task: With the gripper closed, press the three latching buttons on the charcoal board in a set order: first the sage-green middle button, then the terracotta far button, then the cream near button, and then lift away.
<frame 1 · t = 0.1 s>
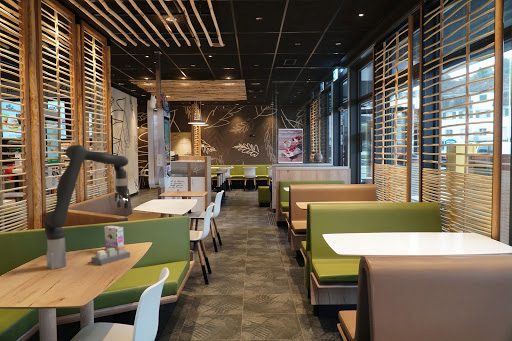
hand: (122, 208, 247), 29 cm above the table, tool pointing down, fingers open, 8 cm apart
cream button: (101, 253, 219), point 6 cm above the table, slide at 0.0 cm
button board: (111, 259, 224), on the table
sage button: (110, 250, 224), point 6 cm above the table, slide at 0.0 cm
terracotta button: (120, 248, 229), point 6 cm above the table, slide at 0.0 cm
candy box: (114, 250, 247), on the table
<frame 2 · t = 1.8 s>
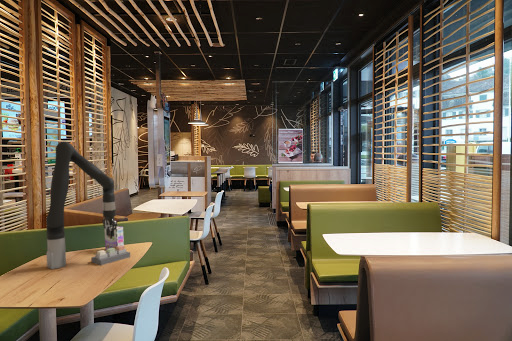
hand: (110, 235, 223), 15 cm above the table, tool pointing down, fingers open, 4 cm apart
nothing on the table moved.
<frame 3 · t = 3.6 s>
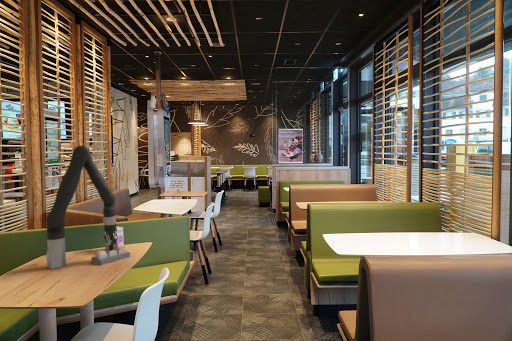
hand: (111, 250, 224), 6 cm above the table, tool pointing down, fingers closed
sage button: (111, 252, 224), point 5 cm above the table, slide at 1.1 cm, touching gripper
everything else where it was.
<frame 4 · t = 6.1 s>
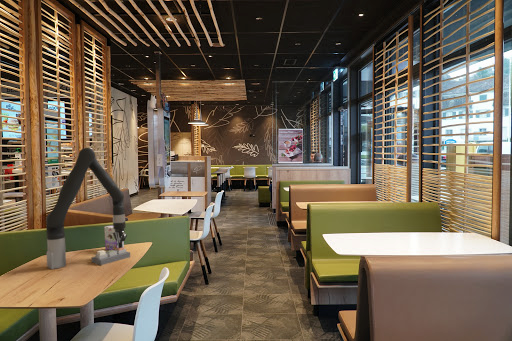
hand: (120, 247, 229), 6 cm above the table, tool pointing down, fingers closed
sage button: (111, 252, 224), point 4 cm above the table, slide at 1.4 cm
terracotta button: (120, 249, 229), point 5 cm above the table, slide at 0.8 cm, touching gripper
everything else where it was.
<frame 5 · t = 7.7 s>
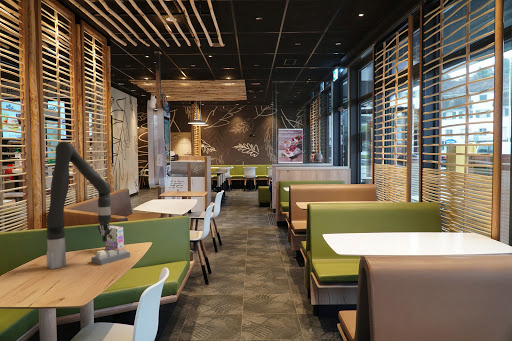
hand: (104, 241, 221), 12 cm above the table, tool pointing down, fingers closed
terracotta button: (120, 250, 229), point 4 cm above the table, slide at 1.4 cm
everything else where it was.
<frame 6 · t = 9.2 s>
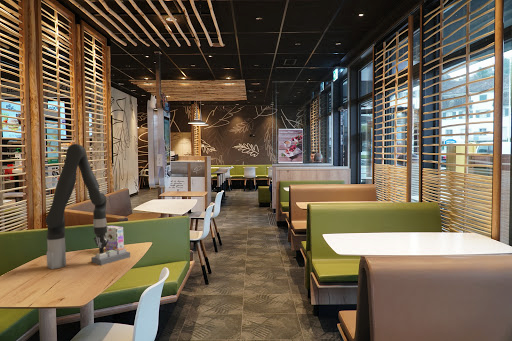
hand: (101, 253, 219), 6 cm above the table, tool pointing down, fingers closed
cream button: (101, 255, 219), point 4 cm above the table, slide at 1.3 cm, touching gripper
everything else where it was.
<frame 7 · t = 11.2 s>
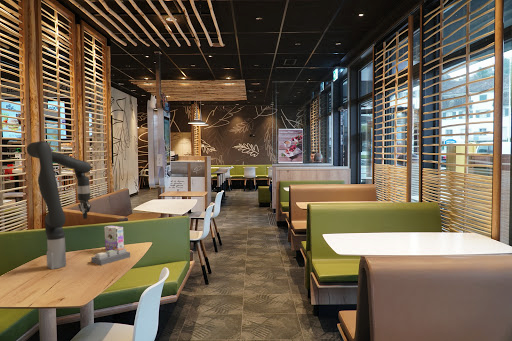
hand: (85, 218, 233), 25 cm above the table, tool pointing down, fingers closed
cream button: (101, 255, 219), point 4 cm above the table, slide at 1.4 cm
everything else where it was.
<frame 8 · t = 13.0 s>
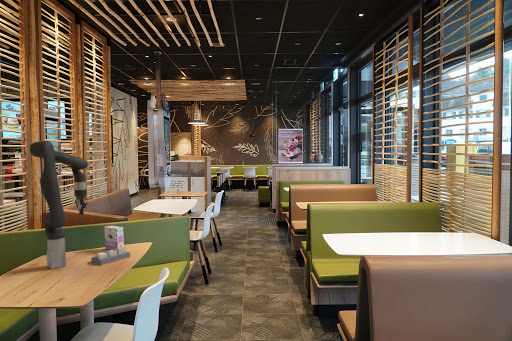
hand: (81, 214, 236), 27 cm above the table, tool pointing down, fingers closed
nothing on the table moved.
at the end: sage button slide at 1.4 cm; terracotta button slide at 1.4 cm; cream button slide at 1.4 cm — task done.
